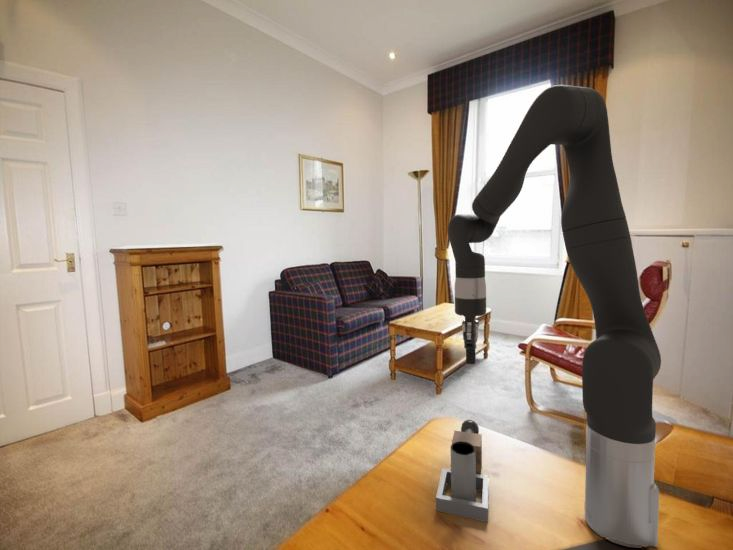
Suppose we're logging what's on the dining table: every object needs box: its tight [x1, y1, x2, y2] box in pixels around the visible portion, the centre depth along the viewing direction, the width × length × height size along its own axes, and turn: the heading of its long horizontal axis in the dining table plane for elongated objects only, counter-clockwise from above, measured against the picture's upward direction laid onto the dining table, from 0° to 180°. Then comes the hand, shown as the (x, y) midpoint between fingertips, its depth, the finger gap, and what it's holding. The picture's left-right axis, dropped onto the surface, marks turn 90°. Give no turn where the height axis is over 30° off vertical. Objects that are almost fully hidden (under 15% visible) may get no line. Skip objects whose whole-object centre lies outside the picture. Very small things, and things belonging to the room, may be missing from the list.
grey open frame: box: [435, 467, 490, 523], centre depth 67 cm, size 9×9×2 cm
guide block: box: [451, 430, 483, 475], centre depth 76 cm, size 6×5×7 cm
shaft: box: [460, 419, 480, 434], centre depth 81 cm, size 4×10×4 cm, turn 160°
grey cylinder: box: [450, 441, 477, 502], centre depth 67 cm, size 4×4×10 cm
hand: (470, 363), depth 89 cm, fingers closed
